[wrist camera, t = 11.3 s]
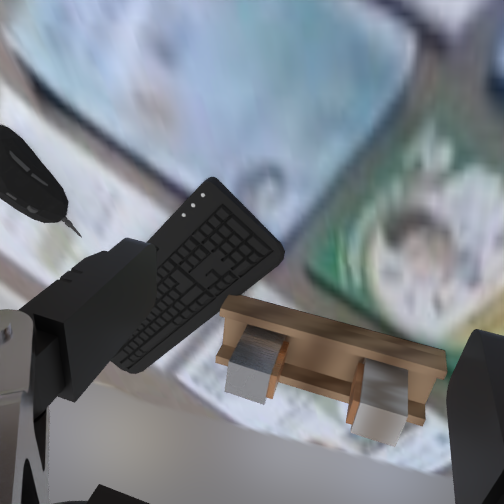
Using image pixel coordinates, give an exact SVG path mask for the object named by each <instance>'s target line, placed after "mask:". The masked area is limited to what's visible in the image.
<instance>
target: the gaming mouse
mask: <svg viewBox="0 0 504 504" xmlns="http://www.w3.org/2000/svg"><path fill="white" fill-rule="evenodd" d="M0 198H1V199H2V200H3V201H5V202H6V203H8V204H9V205H11V206H12V207H13V208H15V209H16V210H18V211H20V212H21V213H23V214H25V215H27V216H28V217H30V218H32V219H34V220H37V221H40V222H43V223H55V222H59V221H60V220H61V219H62V221H63V222H65V224H66V225H67V226H68V227H71V228H72V229H73V230H74V231H75V232H76V233H77V234H78V235H79V236H80V237H81V235H80V233H79V232H78V231H77V230H76V229H75V228H74V226H73V225H72V223H71V222H70V221H69V220H67V218H66V217H65V214H66V211H67V206H68V200H67V197H66V195H65V192H64V190H63V188H62V187H61V185H60V184H59V183H58V182H57V180H56V179H55V178H54V176H53V175H52V174H51V173H50V172H49V170H48V169H47V168H46V167H45V166H44V164H43V163H42V162H41V161H40V160H39V158H38V157H37V156H36V155H35V153H34V152H33V151H32V149H31V148H30V147H29V146H28V145H27V144H26V142H25V141H24V140H23V139H22V138H21V137H20V136H18V135H17V134H16V133H14V132H13V131H12V130H10V129H9V128H7V127H4V126H1V125H0Z"/></svg>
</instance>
